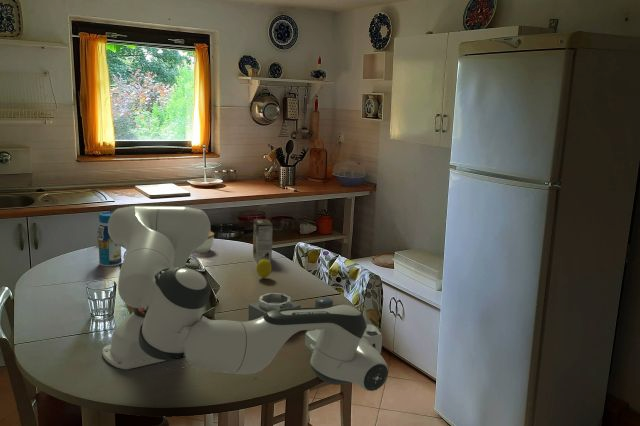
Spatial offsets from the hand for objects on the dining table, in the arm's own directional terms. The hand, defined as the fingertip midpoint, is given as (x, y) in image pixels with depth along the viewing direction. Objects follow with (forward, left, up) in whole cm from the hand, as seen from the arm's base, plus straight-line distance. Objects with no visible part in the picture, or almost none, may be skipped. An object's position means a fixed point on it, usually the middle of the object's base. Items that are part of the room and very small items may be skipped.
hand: (333, 326), depth 157 cm
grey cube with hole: (-4, +21, -5) cm, 22 cm away
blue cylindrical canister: (-19, +103, -5) cm, 105 cm away
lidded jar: (+18, +97, -5) cm, 98 cm away
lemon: (+18, +54, -5) cm, 57 cm away
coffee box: (+32, +73, -5) cm, 79 cm away
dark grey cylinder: (+3, +7, -5) cm, 9 cm away
